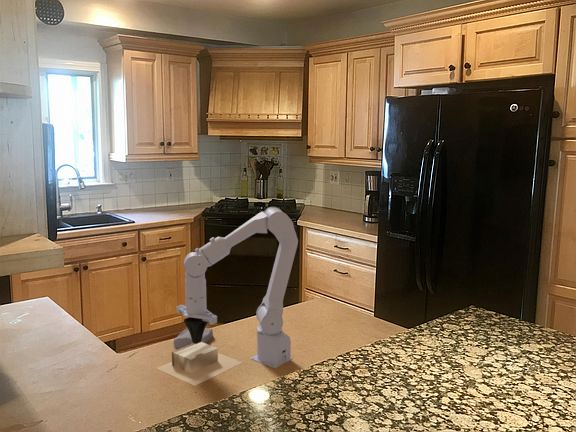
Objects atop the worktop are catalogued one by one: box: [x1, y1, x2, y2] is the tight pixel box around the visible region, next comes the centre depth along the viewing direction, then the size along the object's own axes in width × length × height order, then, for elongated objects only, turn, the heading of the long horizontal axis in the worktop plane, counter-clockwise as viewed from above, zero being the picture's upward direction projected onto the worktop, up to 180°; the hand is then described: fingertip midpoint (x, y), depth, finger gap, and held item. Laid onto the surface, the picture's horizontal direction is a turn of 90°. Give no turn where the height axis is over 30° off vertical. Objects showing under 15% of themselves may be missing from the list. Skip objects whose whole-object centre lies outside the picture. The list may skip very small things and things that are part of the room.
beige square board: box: [155, 352, 243, 387], centre depth 150 cm, size 16×18×1 cm
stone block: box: [173, 327, 214, 349], centre depth 167 cm, size 12×5×10 cm
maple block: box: [171, 342, 219, 373], centre depth 151 cm, size 4×10×8 cm
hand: (197, 342), depth 150 cm, fingers closed
